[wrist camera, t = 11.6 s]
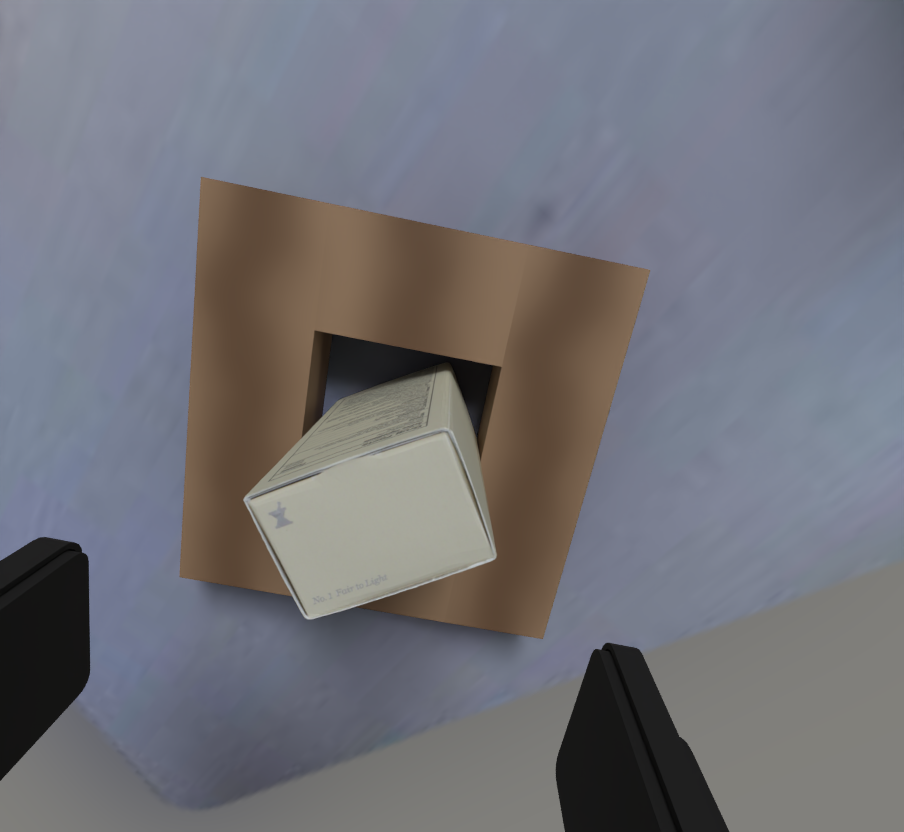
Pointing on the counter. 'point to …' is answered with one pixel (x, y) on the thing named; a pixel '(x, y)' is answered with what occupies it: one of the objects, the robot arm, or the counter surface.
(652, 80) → the counter surface
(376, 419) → the skincare box
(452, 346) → the docking block
